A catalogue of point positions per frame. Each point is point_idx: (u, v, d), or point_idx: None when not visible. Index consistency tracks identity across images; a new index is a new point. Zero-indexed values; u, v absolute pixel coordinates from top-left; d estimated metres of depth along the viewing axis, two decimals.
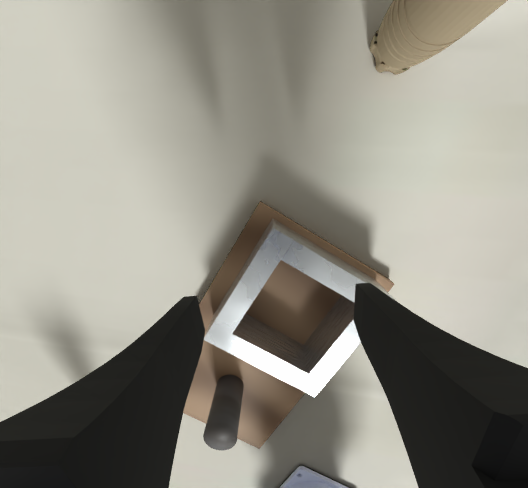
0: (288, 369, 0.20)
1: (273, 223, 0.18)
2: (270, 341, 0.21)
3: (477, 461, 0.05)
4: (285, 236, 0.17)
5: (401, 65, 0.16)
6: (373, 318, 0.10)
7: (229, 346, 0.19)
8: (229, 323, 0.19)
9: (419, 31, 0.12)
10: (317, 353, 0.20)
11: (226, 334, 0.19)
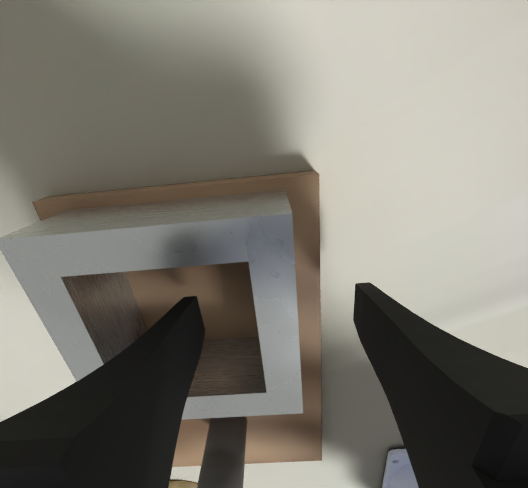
0: (233, 401, 0.12)
1: (34, 224, 0.10)
2: (198, 369, 0.13)
3: (477, 461, 0.05)
4: (24, 239, 0.09)
5: None
6: (373, 318, 0.10)
7: None
8: None
9: None
10: None
11: None
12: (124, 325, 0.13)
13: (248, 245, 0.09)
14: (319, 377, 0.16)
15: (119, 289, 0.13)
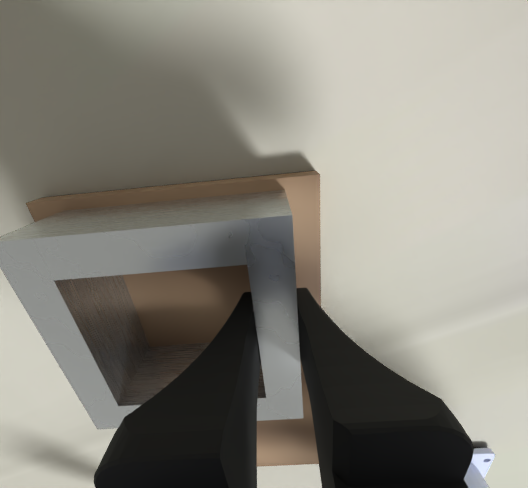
0: None
1: (27, 226, 0.10)
2: None
3: (335, 467, 0.05)
4: (16, 242, 0.08)
5: None
6: (299, 323, 0.10)
7: None
8: (100, 397, 0.12)
9: None
10: None
11: (113, 410, 0.12)
12: (120, 328, 0.12)
13: (247, 248, 0.08)
14: None
15: (115, 292, 0.12)
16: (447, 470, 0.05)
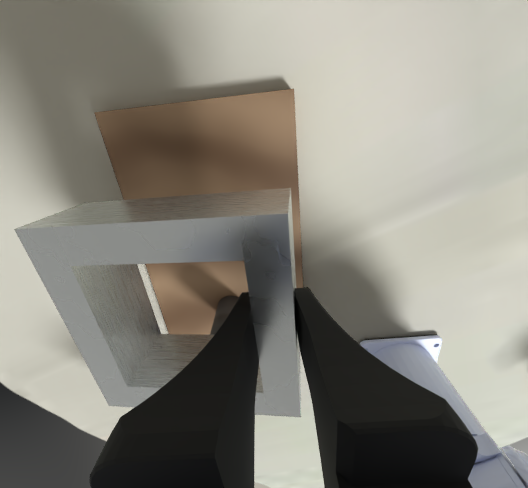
0: None
1: (52, 215, 0.11)
2: None
3: (338, 467, 0.05)
4: (39, 229, 0.09)
5: None
6: (301, 323, 0.10)
7: (140, 401, 0.13)
8: (111, 376, 0.12)
9: None
10: None
11: (122, 389, 0.13)
12: (133, 315, 0.13)
13: (243, 244, 0.09)
14: (300, 264, 0.21)
15: (129, 280, 0.13)
16: (451, 470, 0.05)
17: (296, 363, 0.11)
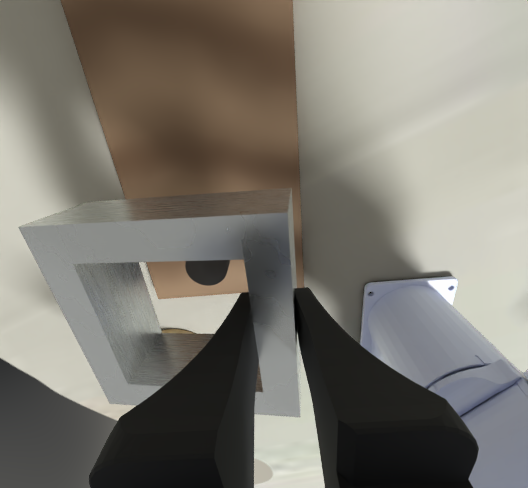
0: None
1: (55, 214, 0.11)
2: None
3: (339, 467, 0.05)
4: (42, 227, 0.09)
5: None
6: (301, 323, 0.10)
7: (140, 399, 0.13)
8: (112, 374, 0.13)
9: None
10: None
11: (123, 387, 0.13)
12: (134, 313, 0.13)
13: (243, 243, 0.09)
14: (298, 179, 0.19)
15: (131, 279, 0.13)
16: (452, 470, 0.05)
17: (296, 363, 0.11)
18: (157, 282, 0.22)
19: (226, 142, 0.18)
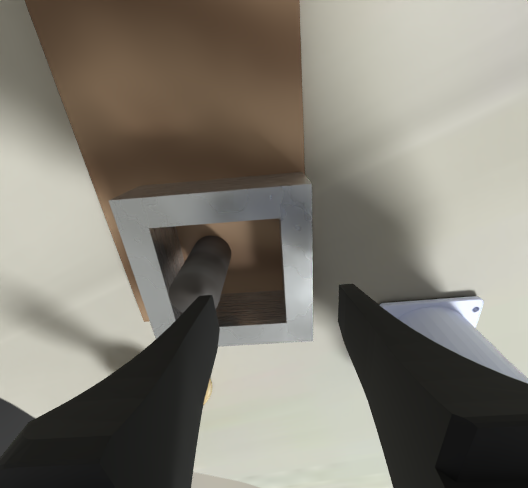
0: (261, 330, 0.16)
1: (125, 193, 0.14)
2: (233, 311, 0.17)
3: (439, 463, 0.05)
4: (128, 200, 0.13)
5: None
6: (354, 319, 0.10)
7: None
8: (166, 322, 0.16)
9: None
10: (284, 295, 0.16)
11: None
12: None
13: (281, 206, 0.13)
14: None
15: (175, 247, 0.17)
16: None
17: (311, 295, 0.15)
18: (142, 303, 0.20)
19: (219, 145, 0.15)
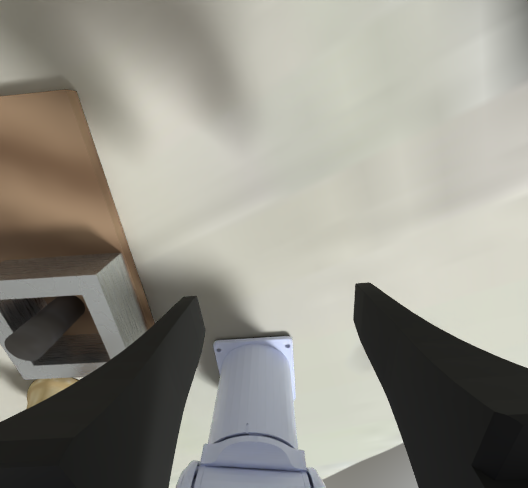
0: (95, 366, 0.22)
1: None
2: (82, 350, 0.23)
3: (477, 461, 0.05)
4: None
5: None
6: (373, 318, 0.10)
7: (43, 374, 0.22)
8: (23, 360, 0.22)
9: None
10: None
11: (31, 368, 0.22)
12: None
13: (80, 287, 0.18)
14: (125, 263, 0.22)
15: (35, 303, 0.22)
16: None
17: (123, 343, 0.21)
18: None
19: (56, 235, 0.21)
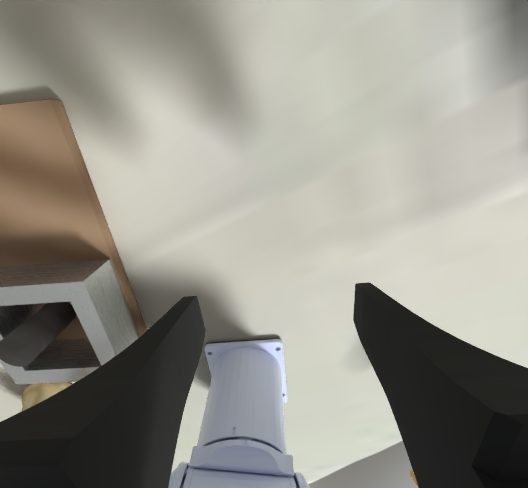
0: (85, 371, 0.22)
1: None
2: (73, 355, 0.23)
3: (477, 461, 0.05)
4: None
5: None
6: (373, 318, 0.10)
7: (35, 379, 0.22)
8: None
9: None
10: None
11: (23, 373, 0.22)
12: None
13: (67, 294, 0.19)
14: (114, 268, 0.22)
15: (26, 309, 0.23)
16: None
17: (112, 349, 0.21)
18: None
19: (45, 242, 0.21)
